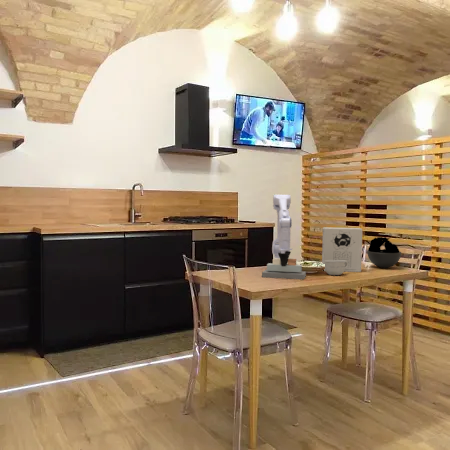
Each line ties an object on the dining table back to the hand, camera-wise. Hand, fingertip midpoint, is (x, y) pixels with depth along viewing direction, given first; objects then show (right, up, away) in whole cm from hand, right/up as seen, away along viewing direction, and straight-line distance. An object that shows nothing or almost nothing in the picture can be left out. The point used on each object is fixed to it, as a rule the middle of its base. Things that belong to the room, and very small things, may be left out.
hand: (284, 265), depth 250 cm
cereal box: (+37, -5, +25) cm, 44 cm away
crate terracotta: (+4, 0, -1) cm, 4 cm away
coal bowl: (+66, -5, +39) cm, 77 cm away
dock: (0, -6, 0) cm, 6 cm away
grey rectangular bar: (0, -3, 0) cm, 3 cm away
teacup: (+30, -6, +10) cm, 33 cm away
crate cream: (-4, +1, +1) cm, 4 cm away
